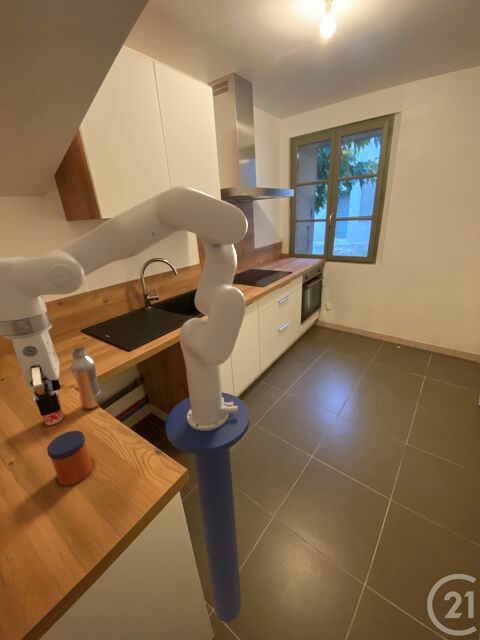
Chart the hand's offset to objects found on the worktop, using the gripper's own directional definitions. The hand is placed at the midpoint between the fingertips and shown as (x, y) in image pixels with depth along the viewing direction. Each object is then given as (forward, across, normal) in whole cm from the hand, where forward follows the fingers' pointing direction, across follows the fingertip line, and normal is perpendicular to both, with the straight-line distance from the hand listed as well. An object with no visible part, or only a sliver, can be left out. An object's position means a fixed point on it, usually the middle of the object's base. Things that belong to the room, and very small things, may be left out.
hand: (51, 401), depth 55 cm
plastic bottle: (+20, +26, -6) cm, 34 cm away
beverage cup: (+20, +26, +5) cm, 33 cm away
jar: (+20, 0, 0) cm, 20 cm away
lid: (+11, 0, 0) cm, 11 cm away
